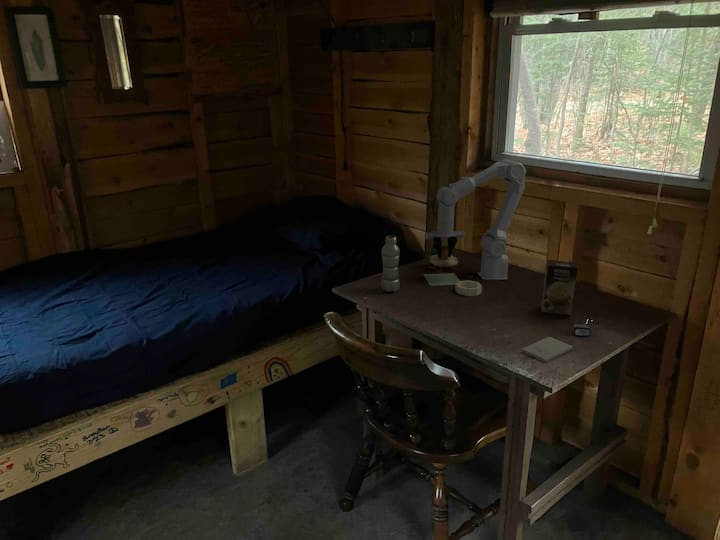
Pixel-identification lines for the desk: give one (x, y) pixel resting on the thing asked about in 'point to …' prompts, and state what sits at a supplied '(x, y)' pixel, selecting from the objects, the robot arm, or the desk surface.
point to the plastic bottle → (390, 265)
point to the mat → (441, 279)
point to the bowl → (468, 288)
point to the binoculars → (438, 268)
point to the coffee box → (559, 287)
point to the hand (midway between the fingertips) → (444, 256)
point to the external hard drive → (547, 349)
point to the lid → (444, 258)
